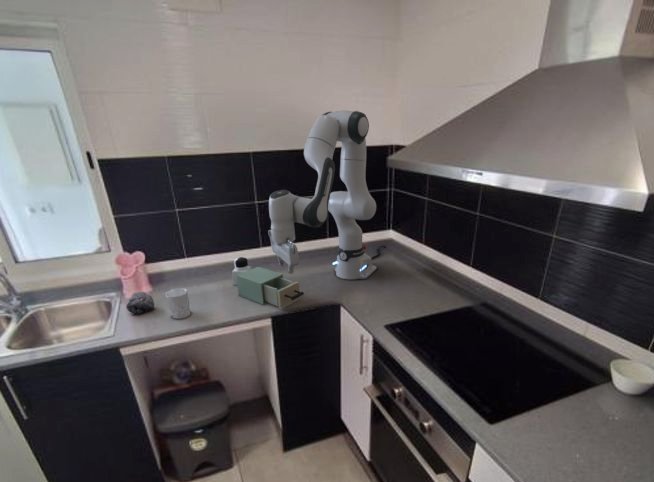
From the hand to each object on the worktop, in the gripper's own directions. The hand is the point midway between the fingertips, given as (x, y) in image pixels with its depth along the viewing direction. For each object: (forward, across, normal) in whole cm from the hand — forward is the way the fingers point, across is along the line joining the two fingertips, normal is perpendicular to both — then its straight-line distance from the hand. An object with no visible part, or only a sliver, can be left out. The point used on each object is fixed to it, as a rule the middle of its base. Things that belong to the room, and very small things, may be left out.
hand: (286, 269), depth 151 cm
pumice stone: (+16, +26, +55) cm, 63 cm away
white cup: (+16, +14, +41) cm, 46 cm away
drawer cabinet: (+16, +15, +7) cm, 23 cm away
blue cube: (+14, +5, +2) cm, 15 cm away
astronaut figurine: (+16, +33, +10) cm, 38 cm away
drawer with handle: (+15, +3, +2) cm, 16 cm away
